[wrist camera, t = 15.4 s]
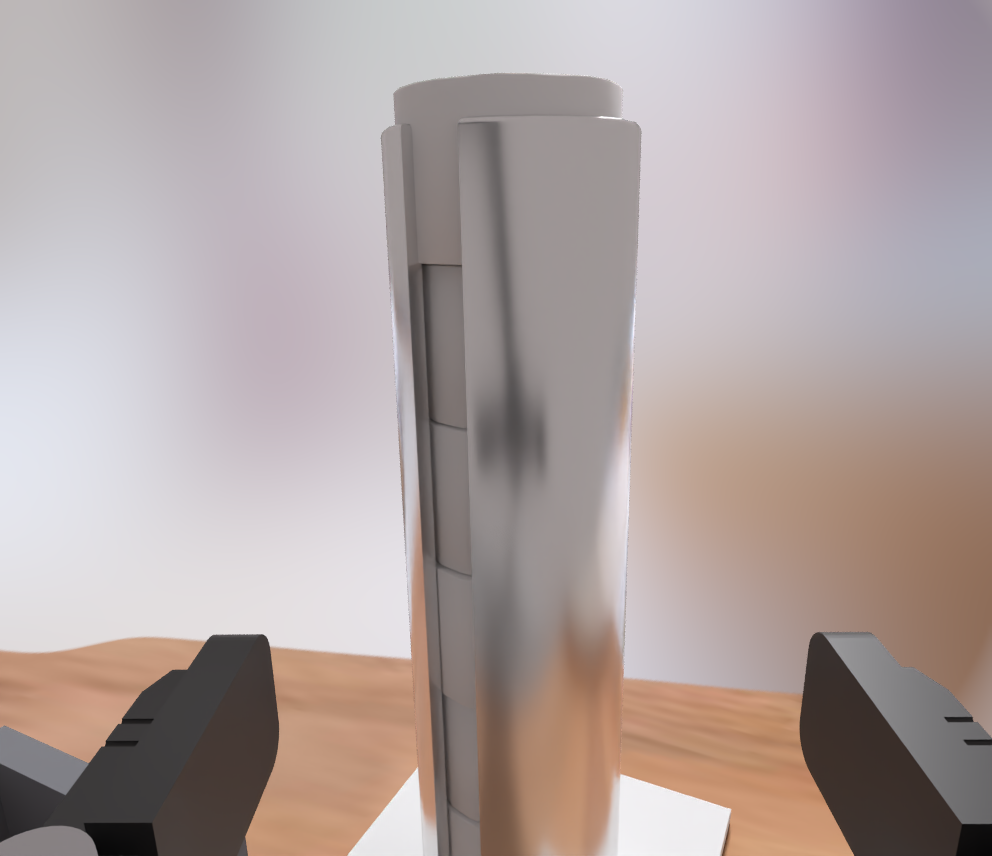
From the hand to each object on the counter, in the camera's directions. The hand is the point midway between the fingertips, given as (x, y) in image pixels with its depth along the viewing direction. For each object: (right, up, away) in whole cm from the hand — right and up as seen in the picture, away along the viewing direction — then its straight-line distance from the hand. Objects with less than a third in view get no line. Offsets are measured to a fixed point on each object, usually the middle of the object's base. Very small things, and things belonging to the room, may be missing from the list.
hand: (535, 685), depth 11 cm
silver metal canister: (0, -12, +15) cm, 19 cm away
